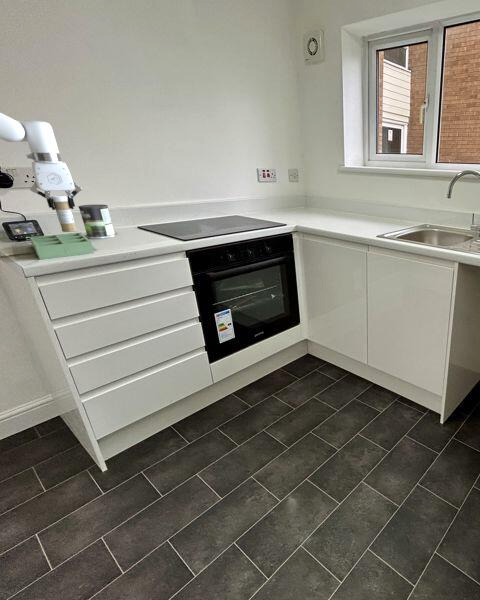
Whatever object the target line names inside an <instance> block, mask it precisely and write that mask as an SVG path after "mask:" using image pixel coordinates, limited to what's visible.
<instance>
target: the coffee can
mask: <svg viewBox="0 0 480 600" xmlns="http://www.w3.org/2000/svg"><path fill="white" fill-rule="evenodd" d="M77 208H78V209H79V212H80V216H81V220H82V222H83V223H82V224H83V226H84V230H85V233H86V238H87V239H92V240H97V239H100V240H101V239H102V240H103V239H111V238H114V237H116V233H115V230H114V225H113V222H112V218H111V213H110V211H109V205H108V204H83V205H81V204H80V205H78V206H77Z"/></svg>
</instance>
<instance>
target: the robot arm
mask: <svg viewBox="0 0 480 600" xmlns="http://www.w3.org/2000/svg"><path fill="white" fill-rule="evenodd" d="M0 140H3V141H5V142H9V143H20V142H21V143H23V142H26V143H27V144H28V147H29V150H30V153H29V154H26V158H27V159H30V160H33V161H31V168H32V173H33V178H34V182H33V184H32V185H31V187H30V188H29V190H30V191H31V192H32V193H35V194H37V195H39V196H41V197H43V198H44V199H46V202H47V205H48V208H50V209H51V210H52V211H56V209H55V206H54V203H53V200H52V199H51V197H52V196H51V192H58V191H59V192H60V191H61V192H63V191H64V192H65V194H66V196H67V198H68V203H69V206H70V209H71V210H74V209H75V208H76V205H75V200H74V198H75V196H77V194H79V193H80V192H81V191H83V188H82V187H81V186H79V185H78V184H77V183H76V182H74V181H73V178H72V174H71V172H70V169H69V168H68V166H67V164H66V162H63V160H62V157H61V154H60V151H59V147H58V144H57V140H56V137H55V133H54V130H53V127H52V125H51V123H48V122H46V121H40V120H24V121H23V120H15V119H14V118H12V117H10V116H9V115H6V114H4V113H3V112H0ZM38 189H39V190H38ZM42 191H43V192H42ZM74 207H75V208H74Z"/></svg>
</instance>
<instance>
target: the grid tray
mask: <svg viewBox="0 0 480 600" xmlns="http://www.w3.org/2000/svg"><path fill="white" fill-rule="evenodd" d="M29 241H30V243H31V247H32V248H33V250H34V251H35V254H36V256H37V257H38V259H39V260H49V259H55V258H56V259H57V258H64V257H72V256H73V257H74V256H80V255H81V256H82V255H88V254H95V250H94V247H93V244H92V241H91V240H90V238H87V236H85V235H84V234H83V233H82V232H69V233H62V234H61V233H60V234H50V235H37V236H29Z"/></svg>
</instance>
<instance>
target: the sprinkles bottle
mask: <svg viewBox="0 0 480 600" xmlns="http://www.w3.org/2000/svg"><path fill="white" fill-rule="evenodd" d="M50 197H51V199H52V200H53V203H54V206H55V212H56V215H57V216H56V217H57V219H58V222H59V225H60V228H61V232H63V233H75V232H77V231H78V228H77V227H76V223H75V218H74V215H73V212H72V209H71V208H70V206H69V203H68V195H52V196H50Z"/></svg>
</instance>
